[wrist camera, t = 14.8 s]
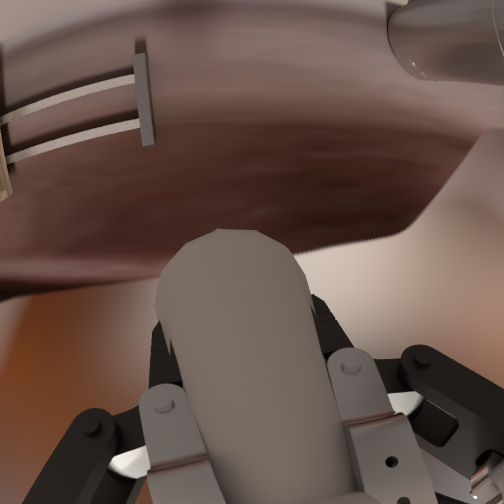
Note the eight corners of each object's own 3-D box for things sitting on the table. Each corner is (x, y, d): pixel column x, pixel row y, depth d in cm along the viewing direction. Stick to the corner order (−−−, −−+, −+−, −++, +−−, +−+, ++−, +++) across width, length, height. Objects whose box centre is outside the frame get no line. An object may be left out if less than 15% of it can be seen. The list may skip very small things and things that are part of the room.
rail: (146, 50, 21) (143, 46, 20) (157, 147, 25) (154, 150, 24) (-73, 138, 17) (-84, 142, 16) (-59, 211, 21) (-68, 217, 20)
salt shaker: (227, 341, 16) (296, 602, 4) (133, 281, 13) (110, 620, 2) (312, 262, 15) (487, 523, 3) (222, 180, 12) (427, 617, 1)
